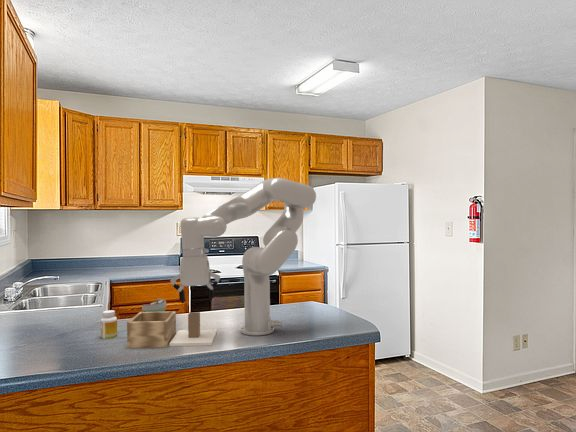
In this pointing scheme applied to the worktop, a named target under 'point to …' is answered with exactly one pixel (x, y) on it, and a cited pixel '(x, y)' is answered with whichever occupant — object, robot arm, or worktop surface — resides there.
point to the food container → (155, 306)
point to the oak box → (151, 329)
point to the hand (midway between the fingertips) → (197, 301)
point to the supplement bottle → (108, 325)
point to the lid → (193, 334)
